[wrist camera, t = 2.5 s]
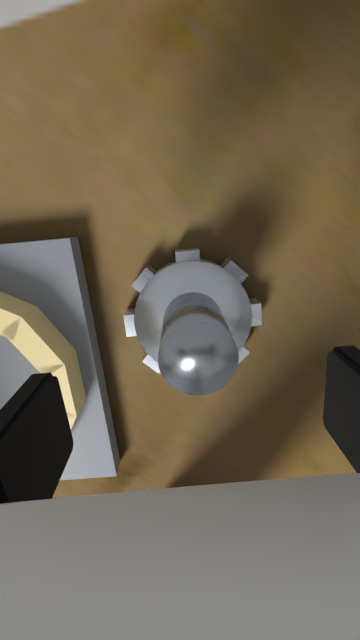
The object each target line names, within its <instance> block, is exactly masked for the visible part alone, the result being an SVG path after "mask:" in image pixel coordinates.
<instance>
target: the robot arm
mask: <svg viewBox="0 0 360 640" xmlns="http://www.w3.org/2000/svg"><path fill="white" fill-rule="evenodd" d="M323 421H324V425H325V428H326V429H327V431H328V432H329V434H330V435H331V437H332V438H333V439H334V441H335V442H336V444H337V445H338V447H339V448H340V449H341V451H342V452H343V454H344V455H345V456H346V458H347V459H348V461H349V462H350V464H351V465H352V466H353V468H354V469H355V471H356V472H357V473H350V474H337V475H324V476H310V477H297V478H284V479H272V480H259V481H246V482H234V483H222V484H210V485H198V486H186V487H175V488H163V489H151V490H140V491H129V492H118V493H107V494H96V495H85V496H74V497H63V498H52V497H53V494H54V492H55V490H56V487H57V485H58V483H59V481H60V478H61V476H62V474H63V471H64V469H65V467H66V464H67V462H68V460H69V457H70V455H71V453H72V450H73V437H72V433H71V429H70V425H69V421H68V417H67V413H66V408H65V404H64V400H63V396H62V392H61V388H60V384H59V380H58V378H57V377H56V376H53V375H52V374H51V373H50V372H49V373H37V374H32V375H31V376H30V377H29V378H28V379H27V380H26V381H25V382H24V384H23V385H22V386H21V387H20V388H19V389H18V390H17V391H16V393H15V394H14V395H13V396H12V397H11V398H10V399H9V400H8V402H7V403H6V404H5V405H4V406H3V407H2V408H1V409H0V640H360V350H359V349H358V348H356V347H355V346H342V347H335V348H334V349H333V351H332V352H329V354H328V359H327V373H326V387H325V400H324V414H323Z"/></svg>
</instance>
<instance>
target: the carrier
mask: <svg viewBox="0 0 360 640" xmlns="http://www.w3.org/2000/svg"><path fill="white" fill-rule="evenodd" d="M49 372H50V373H51V374H52V375H53V376H56V377H57V378H58V380H59V384H60V388H61V392H62V396H63V400H64V404H65V408H66V413H67V417H68V421H69V425H70V429H71V433H72V437H73V450H72V453H71V455H70V457H69V460H68V462H67V464H66V467H65V469H64V471H63V474H62V476H61V478H60V480H71V479H84V478H98V477H111V476H117V473H118V468H119V464H120V456H119V451H118V446H117V441H116V435H115V430H114V425H113V419H112V414H111V409H110V404H109V398H108V393H107V388H106V382H105V377H104V372H103V367H102V361H101V356H100V351H99V345H98V340H97V335H96V329H95V324H94V319H93V314H92V308H91V303H90V298H89V292H88V287H87V282H86V277H85V271H84V266H83V261H82V255H81V250H80V245H79V240H78V237H68V238H57V239H46V240H36V241H25V242H14V243H4V244H0V409H1V408H2V407H3V406H4V405H5V404H6V403H7V402H8V400H9V399H10V398H11V397H12V396H13V395H14V394H15V393H16V391H17V390H18V389H19V388H20V387H21V386H22V385H23V384H24V382H25V381H26V380H27V379H28V378H29V377H30V376H31V375H32V374H37V373H49Z"/></svg>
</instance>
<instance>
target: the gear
mask: <svg viewBox="0 0 360 640" xmlns="http://www.w3.org/2000/svg"><path fill="white" fill-rule="evenodd" d="M175 257H176V261H173V262H171V263H169V264H166V265H165V266H163V267H161V268H160V269H158V270H157V271H156V270H155V269H153V268H152V267H151V266H150V265H147V266H146V267H145V269H144V270H143V271H142V272H141V274H140V275H139V276H138V277H137V279H136V280H135V281H134V283H133V284H132V287H133V288H135V289H136V290H137V291H138V292H140V295H139V297H138V299H137V302H136V306H135V308H132V309H127V310H126V312H125V314H124V315H123V316H124V323H125V329H126V335H127V337H130V336H137V337H138V340H139V342H140V344H141V346H142V347H143V349H144V350H145V352H144V356H143V360H142V362H144V363H145V364H146V365H148V366H149V367H150V368H152V369H153V370H155V371H156V372H157V373H160V372H161V374H162V376H163V378H164V379H165V381H166V382H167V383H168V384H169V385H170V386H172V387H173V388H174V389H176V390H178V391H180V392H183V393H186V394H190V395H205V394H209V393H212V392H215V391H217V390H219V389H221V388H222V387H224V386H225V385H226V384H227V383H228V382H229V381H230V380H231V379H232V377H233V376H234V374H235V372H236V370H237V367H238V364H239V363H240V362H241V361H242V360H243V359H244V358H245V357H246V356H247V355H248V354H249V353H250V351H249V349H248V347H247V345H246V344H245V342H246V340H247V338H248V336H249V333H250V329H251V326H259V325H262V318H261V303H260V301H259V300H258V299H257V298H248V295H247V293H246V291H245V290H244V288H243V286H242V285H241V283H242V282H243V281H244V280H245V279H246V278H247V277H248V276H249V275H248V274H246V273H245V272H244V271H243V270H242V269H241V268H240V267H239V266H237V265H236V264H235V263H234V262H233V261H232V260H231V259H229V258H228V257H227V258H226V259H225V260H224V262H223V263H222V264H221V265H219V264H217V263H214V262H212V261H209V260H205V259H200V250H199V248H187V249H176V250H175Z"/></svg>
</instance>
